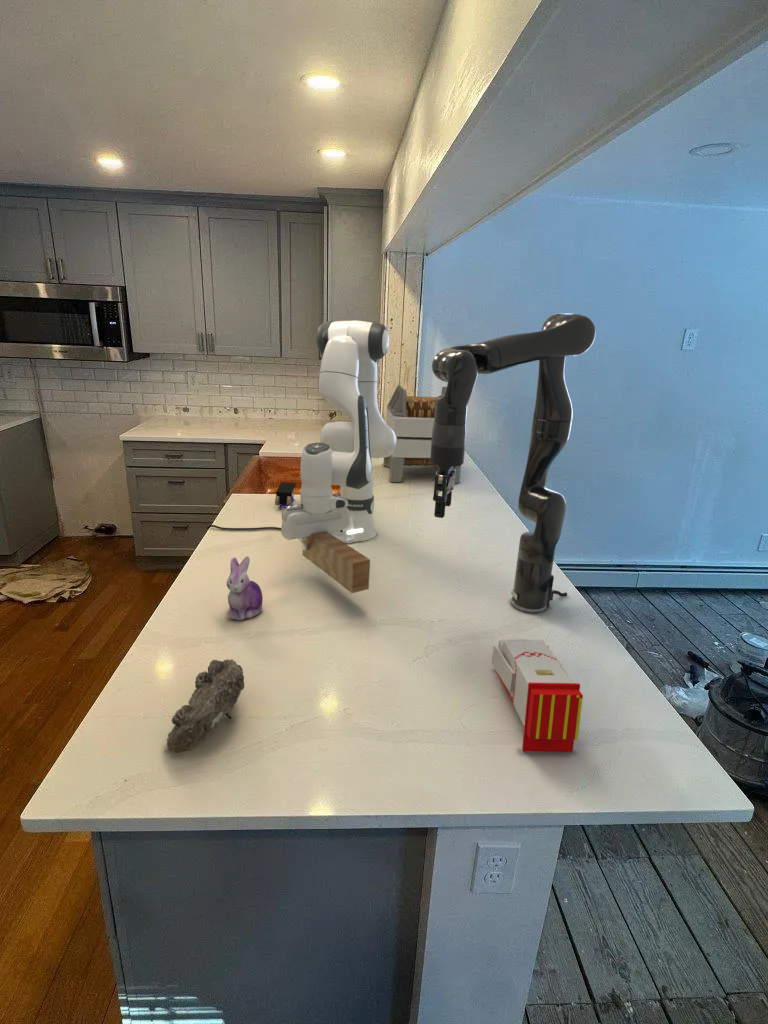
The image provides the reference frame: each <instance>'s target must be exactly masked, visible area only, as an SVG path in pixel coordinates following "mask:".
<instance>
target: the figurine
mask: <svg viewBox="0 0 768 1024" xmlns="http://www.w3.org/2000/svg"><path fill="white" fill-rule="evenodd" d="M250 559H251V558H250V556H248V555H246V556H245V557H244V558H243V559H242V561H240V563H239V561H238V559H237V557H235V556H234V557H231V559H230V565H229V567H230V573H229V575H228V577H227V580H226V587H227V588H228V590H229V592H228V594H227V602H228V606H229V619H232V620H235V621H243V620H245V619H251V618H254V617H255V616H256V615H258V614H260V613H261V612H262V609H263V598H264V597H263V592H262V589H261V586H260V585H259V584H258V583H257V582H255V581H253V580H250V577H249V576H248V574H247V572H248V569H249V566H250V562H251V561H250Z"/></svg>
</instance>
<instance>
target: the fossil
mask: <svg viewBox="0 0 768 1024" xmlns="http://www.w3.org/2000/svg"><path fill="white" fill-rule="evenodd" d="M243 670H244V669H243V667H242V665H240V664H237V662H236V661H235V660H234V659H232V658H231V659H227V658H226V659H224V660H223V661H222V660H217V659H212V660H211V661H210V663H209V665H208V666H207V671H201V672H199V673H198V674H197V675H196V676H195V680H194V684H195V685H194V687H195V689H194V690H193V693H192V694H191V697H190V698H189V700H188V704H184V705H182V706H181V707H180V709H177V710H176V711H175V713H174V715H173V716H172V718H171V723H172V724H173V727H172V730H171V731H170V732H168V734H167V738H166V741H167V742H166V745H167V749H168V750H169V751H173V752H174V753H176V754H178V753H182V752H188V751H189V752H192V751H193V750H195V748H196V747H197V746H199V744H200V743H201V742H203V741H204V740H205V739H206V738H207V737H208V736H209V735H210V734H211V733H212V732H214V730H215V729H217V727H218V726H219V724H220V722H221V721H222V720H223V719H224V718H225V716H226V717H227V719H229V720H233V717H232V715H230V714H229V710H230V709H231V708H234V706H235V704H236V703H237V702H238V699H239V697H240V695H241V693H242V691H243V690H245V689H244V688H245V675H244V671H243Z"/></svg>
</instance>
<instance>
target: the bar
mask: <svg viewBox="0 0 768 1024" xmlns="http://www.w3.org/2000/svg"><path fill="white" fill-rule="evenodd" d="M304 541H305V543H307V544H309V550H308V551H303V550H302V549H301V551H302V556H303V557H304V558H305V559H307V560H308V561H309V562H310V563H312V564H313V565H315V566H316V567H317V568H319V569H320V571H322V572H324V573H325V574H326V575H327V576H329V577H330V578H332V579H333V580H334V581H335V582H337V583H338V584H340V585H341V586H342V587H343V588H345V590H346V591H348V592H350V593H351V594H356V593H360V592H363V591H367V590H370V589H369V588H370V569H371V568H370V567H371V566H370V565H371V559H370V558H368V557H367V556H366V555H364V554H362V553H361V552H360V551H358V550H356V549H355V548H353V547H351V546H350V545H349V544H348V543H344V542H342V541H341V540H339V539H338V538H336V537H335V536H333V535H331V534H330V533H328V532H327V531H326V532H321V533H315V534H311V536H308V537H306V540H304Z"/></svg>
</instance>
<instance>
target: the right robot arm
mask: <svg viewBox="0 0 768 1024" xmlns="http://www.w3.org/2000/svg"><path fill="white" fill-rule="evenodd" d="M596 333H597V332H596V325H595V323H594V321H593V320H592V319H591V318H589V317H588V316H586V315H584V314H579V313H564V312H563V313H562V312H561V313H559V312H558V313H552V314H551V315H550V316H548V317H547V318H546V319H545V321H544V322H543V325H542V327H541V330H539V331H533V332H525V333H524V332H522V333H516V334H515V333H514V334H507V335H502V336H497V337H494V338H491V339H487V340H484V341H481V342H477V343H471V344H462V345H457V346H456V345H455V346H450V347H446V348H443V349H442V350H440V351H439V352H437V353H436V354H435V356H434V357H433V359H432V362H431V371H432V373H433V375H434V376H435V377H436V378H437V379H438V380H440V381H442V382H444V383H446V387H447V388H446V392H445V394H443V395H441V394H440V395H438V396H437V397H438V398H437V400H436V404H435V418H434V426H433V430H432V442H431V456H430V461H431V462H432V463H433V464H435V465H438V466H439V469H438V468H437V471H436V472H435V475H434V485H433V496H432V501H433V502H435V503H434V512H433V513H434V514H433V515H434V517H435V518H440V519H444V517H446V516H445V515H446V507H451V505H452V497H453V496H452V495H453V490H454V489H455V488H454V487H455V485H456V483H455V475H456V467H457V466H461V467H462V466H463V465H464V463H465V454H466V453H465V451H466V442H467V419H468V408H469V407H468V406H469V403H470V400H471V398H472V394H473V391H474V389H475V385H476V382H477V379H478V374H479V375H489V374H490V375H491V374H493V373H497V372H501V371H503V370H507V369H510V368H514V367H517V366H521V365H525V364H529V363H533V362H537V361H538V377H537V386H536V394H535V403H534V409H533V415H532V421H531V424H532V425H531V429H530V430H531V431H530V441H529V447H528V454H527V460H526V465H525V470H524V474H523V478H522V483H521V486H520V491H519V495H518V501H517V502H518V503H517V507H518V512H519V513H520V515H521V516H522V517H523V518H524V519H527V520H529V521H531V522H533V523H535V526H534V530H529V531H526V532H523V533H522V534H520V537H519V543H518V552H517V560H516V566H515V574H514V580H513V581H514V582H513V588H512V589H511V593H510V595H511V600H510V604H511V605H512V606H513V608H515V609H516V610H519V611H521V612H524V613H529V614H538V613H543V612H545V611H546V610H547V609H549V608H550V604H551V601H553V600H554V595H558V596H560V597H562V598H563V597H567V596H568V592H561V591H559V590H554V589H553V585H554V579H555V576H554V575H553V574H552V571H553V565H554V559H555V554H556V553H555V552H556V548H557V545H558V542H559V541H560V538H561V534H562V531H563V525H564V521H565V516H566V511H567V502H566V499H565V497H564V495H563V494H561V493H560V492H558V491H555V490H552V489H549V488H547V478H548V474H549V470H550V468H551V465H552V463H553V462H554V460H555V459H556V458H557V457H558V456H559V454H561V452H562V451H563V450H564V448H565V446H566V445H567V443H568V441H569V438H570V436H571V435H570V434H571V430H572V429H571V428H572V423H573V417H574V414H573V413H574V410H573V405H572V400H571V397H570V394H569V391H568V387H567V384H566V379H565V366H566V358H567V357H576V356H581V355H582V354H584V353H586V352H587V351H589V349H590V348H591V347H592V345H594V341H595V339H596V335H597V334H596ZM439 493H441V495H439Z"/></svg>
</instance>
